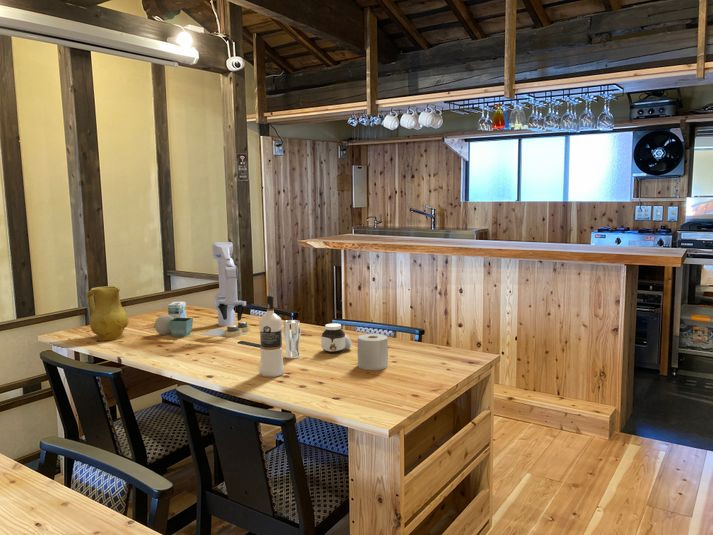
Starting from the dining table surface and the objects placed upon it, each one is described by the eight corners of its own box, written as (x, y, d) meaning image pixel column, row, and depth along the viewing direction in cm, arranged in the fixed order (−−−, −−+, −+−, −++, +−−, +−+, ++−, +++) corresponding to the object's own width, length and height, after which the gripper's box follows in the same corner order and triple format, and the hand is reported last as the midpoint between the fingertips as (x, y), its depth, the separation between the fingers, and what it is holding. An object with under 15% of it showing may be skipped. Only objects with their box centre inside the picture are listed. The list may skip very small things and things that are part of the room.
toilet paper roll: (358, 361, 232) (357, 333, 231) (387, 361, 232) (387, 333, 231) (357, 370, 220) (356, 341, 219) (388, 370, 220) (388, 340, 219)
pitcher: (97, 343, 265) (94, 289, 264) (85, 338, 279) (82, 287, 278) (134, 338, 276) (132, 286, 275) (121, 333, 290) (118, 284, 289)
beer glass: (287, 359, 236) (286, 324, 234) (281, 355, 242) (280, 320, 240) (303, 357, 239) (302, 322, 237) (297, 353, 245) (296, 319, 243)
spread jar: (319, 352, 246) (318, 326, 245) (329, 346, 257) (329, 320, 255) (345, 355, 242) (345, 328, 241) (354, 348, 253) (354, 322, 251)
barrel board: (217, 329, 292) (217, 319, 291) (253, 331, 286) (252, 321, 285) (199, 337, 276) (199, 326, 276) (237, 339, 270) (236, 328, 270)
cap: (230, 332, 279) (230, 324, 279) (239, 333, 278) (239, 325, 278) (225, 335, 275) (225, 327, 274) (235, 335, 273) (234, 327, 273)
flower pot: (194, 335, 280) (193, 317, 279) (187, 340, 271) (186, 321, 270) (176, 335, 281) (175, 317, 280) (169, 339, 272) (168, 321, 271)
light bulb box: (180, 324, 304) (180, 304, 303) (168, 324, 305) (167, 304, 303) (187, 320, 315) (186, 301, 314) (174, 320, 315) (173, 301, 314)
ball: (168, 338, 276) (167, 317, 274) (150, 336, 279) (149, 316, 278) (180, 333, 285) (179, 313, 284) (164, 332, 288) (162, 312, 287)
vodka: (288, 371, 220) (286, 294, 216) (276, 378, 211) (274, 298, 208) (267, 369, 223) (265, 293, 220) (255, 376, 215) (252, 297, 211)
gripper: (213, 292, 272) (214, 320, 274) (240, 293, 268) (241, 322, 270) (221, 290, 279) (222, 317, 281) (247, 291, 275) (248, 319, 276)
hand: (232, 319), depth 276 cm, fingers open, 7 cm apart
